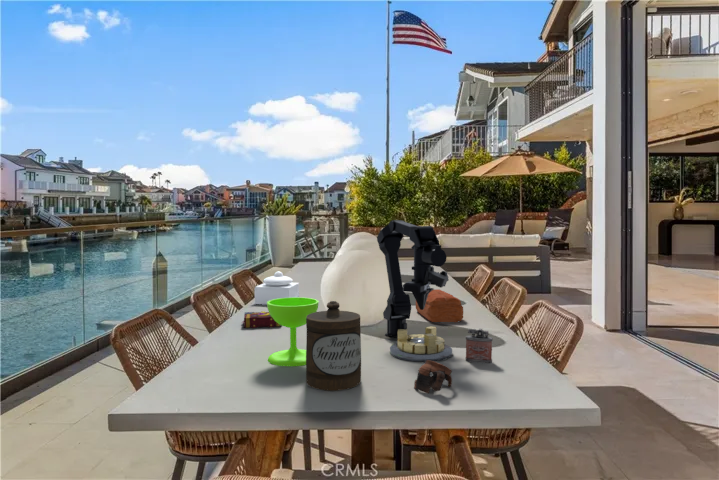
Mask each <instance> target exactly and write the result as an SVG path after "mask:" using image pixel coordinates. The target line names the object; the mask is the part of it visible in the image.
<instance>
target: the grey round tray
mask: <svg viewBox="0 0 719 480" xmlns="http://www.w3.org/2000/svg"><path fill="white" fill-rule="evenodd" d="M410 342H413V343H422V344H424V338H412V339H410ZM389 350H390V351H389V354H390V355H391V356H392V357H394V358H396V359H399V360H403V361H408V362H418V363H419V362H420V363H425V361H426V360H430V361H434V362H440V361H445V360H448V359H449V358H451V357H452V356H453V348H452V347H451V346H450V345H447V344H445V343H444V351H441V352H439V353H438V352H437V353H432V354H426V353H425V354H415V353H408V352H404V351H401V350H400V349H398V348H397V342H395V343H394V344H392V345H390V347H389Z"/></svg>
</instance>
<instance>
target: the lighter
mask: <svg viewBox="0 0 719 480" xmlns="http://www.w3.org/2000/svg"><path fill="white" fill-rule="evenodd" d="M467 334H471V335H465V360H464V361H465V362H470V363H475V364H492V363H493V358H492V356H493V355H492V353H493V352H492V351H493V347H492V346H493V343H492V342H493V337H491V336H489V330H484V329H483V328H479V329H475V328H468V329H467Z"/></svg>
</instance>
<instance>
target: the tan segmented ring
mask: <svg viewBox="0 0 719 480" xmlns="http://www.w3.org/2000/svg"><path fill="white" fill-rule="evenodd" d="M424 331H425V332H424V333H425V334H423V333H421V334H407V333H408V328H407V329H398V337H397V342H396V343H397V348H398V349H400V350H401V351H404V352H408V353H415V354H425V353H426V354H432V353H437V352H438V353H439V352H441V351H444V344H445V339H444V338H442V337H441V336H437V327H436V326H427V327H425V329H424ZM412 338H424V344H422V343H413V342H410V339H412Z"/></svg>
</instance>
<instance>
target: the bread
mask: <svg viewBox="0 0 719 480" xmlns="http://www.w3.org/2000/svg"><path fill="white" fill-rule="evenodd" d="M415 310H416V312H418V313H419V314H420V315H421V316H422V317H424V318H425V319H426V320H428V321H429V322H430V323H431V322H432V323H433V322H454V323H459V322H458V321H462V320H463V319H464V306H463V305H462V301H461V300H460V299H459V298H458V297H455V296H454V295H452V294H451V293H448V292H447V291H446V292H445V291H444V290H442V289H434V290H432V291H431V292H430V293H429V294H428V297H427V300H426V304H425V307H424V309H423V310H420V308H419V306H418V304H417V301H416V300H415Z"/></svg>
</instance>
